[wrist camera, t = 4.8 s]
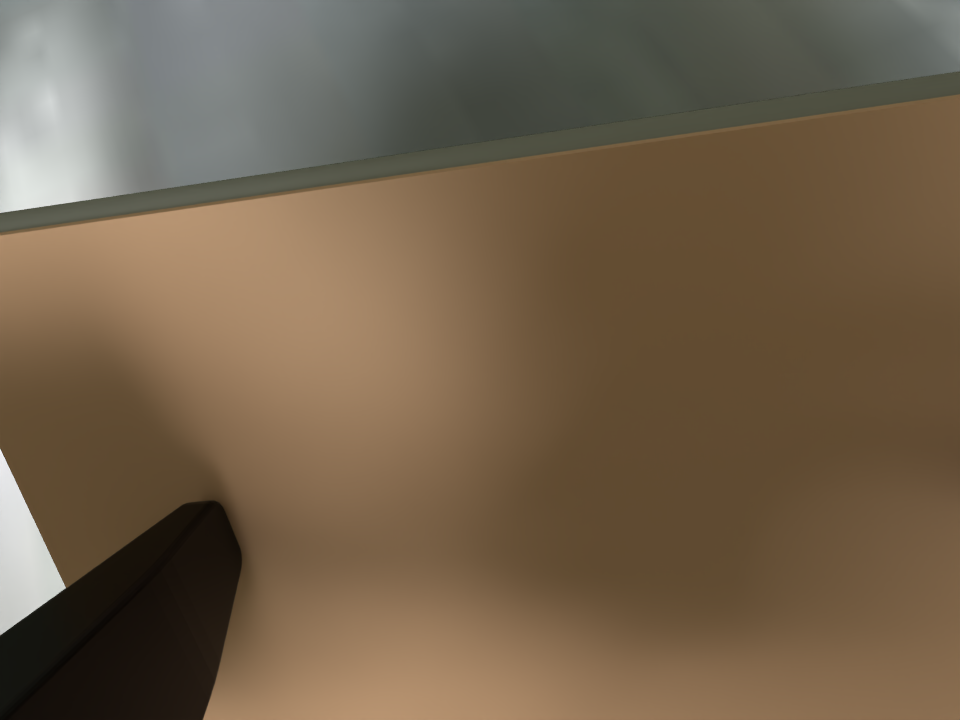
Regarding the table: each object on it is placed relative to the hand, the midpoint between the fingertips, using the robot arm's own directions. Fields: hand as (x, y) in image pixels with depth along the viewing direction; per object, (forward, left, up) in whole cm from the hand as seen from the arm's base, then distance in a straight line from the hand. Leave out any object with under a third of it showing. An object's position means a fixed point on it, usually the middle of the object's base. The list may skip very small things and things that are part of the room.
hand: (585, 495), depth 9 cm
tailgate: (-3, -6, -8) cm, 10 cm away
